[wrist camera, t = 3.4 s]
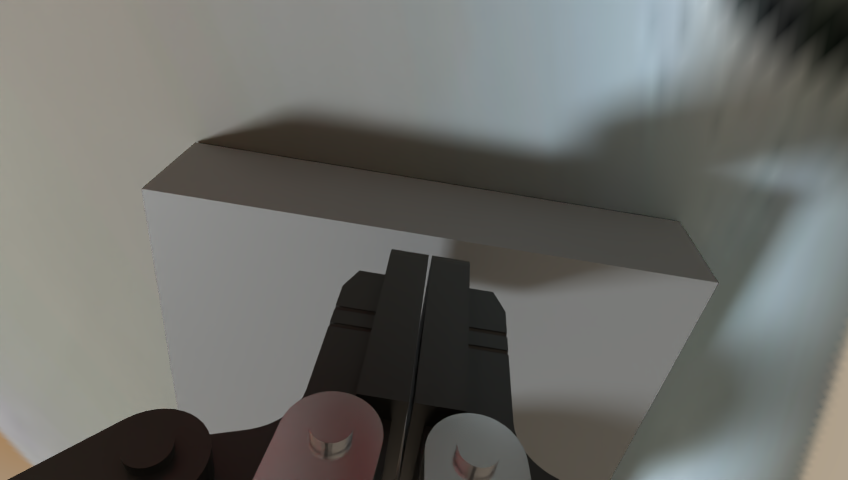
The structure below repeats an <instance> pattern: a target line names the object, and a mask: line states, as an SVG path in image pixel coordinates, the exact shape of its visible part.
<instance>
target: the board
mask: <svg viewBox="0 0 848 480" xmlns="http://www.w3.org/2000/svg"><path fill="white" fill-rule="evenodd" d="M142 195H143V201H144V207H145V213H146V220H147V226H148V232H149V238H150V244H151V250H152V256H153V262H154V268H155V274H156V280H157V286H158V292H159V298H160V304H161V310H162V316H163V323H164V329H165V335H166V341H167V347H168V353H169V359H170V365H171V371H172V377H173V383H174V389H175V395H176V401H177V407H178V410H181V411H185V412H187V413H190V414H192V415H194V416H195V417H197V418H198V419H200V420H201V421H202V422H203V423H204V425H205V426H206V428H207V429H208V431H209V434H216V433H224V432H232V431H240V430H247V429H253V428H258V427H261V426H264V425H268V424H270V423H272V422H274V421H277V420H278V419H280V418H282V417H283V416H284V414H285V413H286V412H287V411H288V410H289V408H290V407H291V406H293V405H294V404H295V403H296V402H298V401H300V400H301V399H302V397H303V396H304V393H305V391H306V389H307V386H308V383H309V380H310V377H311V375H312V372H313V369H314V366H315V363H316V360H317V357H318V354H319V352H320V349H321V346H322V343H323V340H324V337H325V334H326V332H327V329H328V326H329V325H330V320H331V317H332V314H333V312H334V309H335V307H336V303H337V300H338V297H339V294H340V292H341V289H342V286H343V285H344V284H345V283H346V282H347V281H348V280H349V279H350V278H352V277H353V276H354V275H355V274H356V273H357V272H358V271H359V270H360V271H366V272H372V273H378V274H385V273H386V269H387V265H388V261H389V257H390V253H391V249H395V250H401V251H408V252H414V253H420V254H426V255H429V258H428V266H427V273H426V281H425V288H424V295H423V302H424V297H425V291H426V285H427V280H428V274H429V269H430V263H431V258H432V255H433V256H439V257H445V258H451V259H458V260H464V261H469V262H470V287H469V288H472V289H478V290H484V291H490V292H494V294H495V296H496V297H497V299H498V300H499V302H500V304H501V305H502V307H503V309H504V310H505V312H506V325H507V336H506V337H507V339H508V355H509V367H510V381H511V395H512V409H513V423H514V429H515V433H516V436H517V438H518V439H519V441H520V442H521V444H522V446H523V448H524V450H525V452H526V453H527V455H528V456H529V457H530V458H531V459H532V460H533V461H534V462H535V463H536V464H537V465H538V466H539V467H540V468H542V469H543V470H544V471H546V472H547V473H549V474H550V475H552V476H554V477H556V478H558V479H559V480H610V479H611V477H612V475H613V473H614V472H615V470H616V468H617V466H618V464H619V463H620V461H621V459H622V457H623V455H624V454H625V452H626V450H627V448H628V446H629V444H630V443H631V441H632V439H633V437H634V435H635V434H636V432H637V430H638V428H639V426H640V424H641V423H642V421H643V419H644V417H645V415H646V414H647V412H648V410H649V408H650V406H651V405H652V403H653V401H654V399H655V397H656V395H657V394H658V392H659V390H660V388H661V386H662V385H663V383H664V381H665V379H666V377H667V375H668V374H669V372H670V370H671V368H672V366H673V365H674V363H675V361H676V359H677V357H678V356H679V354H680V352H681V350H682V348H683V346H684V345H685V343H686V341H687V339H688V337H689V336H690V334H691V332H692V330H693V328H694V327H695V325H696V323H697V321H698V319H699V317H700V316H701V314H702V312H703V310H704V308H705V307H706V305H707V303H708V301H709V299H710V297H711V296H712V294H713V292H714V290H715V288H716V287H717V285H718V281H717V280H716V278H715V277H714V275H713V273H712V272H711V270H710V269H709V267H708V265H707V264H706V262H705V261H704V259H703V258H702V256H701V254H700V253H699V251H698V250H697V248H696V247H695V245H694V243H693V242H692V240H691V239H690V237H689V235H688V234H687V232H686V231H685V229H684V228H683V226H682V224H681V223H680V222H679V221H673V220H666V219H660V218H654V217H648V216H642V215H636V214H630V213H624V212H618V211H611V210H605V209H599V208H593V207H587V206H581V205H575V204H569V203H563V202H556V201H550V200H544V199H538V198H532V197H526V196H520V195H514V194H508V193H501V192H495V191H489V190H483V189H477V188H471V187H465V186H459V185H453V184H446V183H440V182H434V181H428V180H422V179H416V178H410V177H404V176H398V175H391V174H385V173H379V172H373V171H367V170H361V169H355V168H349V167H342V166H336V165H330V164H324V163H318V162H312V161H306V160H300V159H294V158H287V157H281V156H275V155H269V154H263V153H257V152H251V151H245V150H239V149H232V148H226V147H220V146H214V145H208V144H202V143H196V142H195V143H194V144H193V145H192V146H191V147H189V148H188V149H187V150H186V151H185V152H184V153H182V154H181V155H180V156H179V157H178V158H177V159H175V160H174V161H173V162H172V163H171V164H170V165H169V166H167V167H166V168H165V169H164V170H163V171H162V172H160V173H159V174H158V175H157V176H156V177H155V178H153V179H152V180H151V181H150V182H149V183H148V184H146V185H145V186H144V187H143V188H142ZM422 308H423V303H422ZM421 313H422V310H421ZM420 319H421V318H420ZM406 418H407V416H406ZM405 425H406V422H405ZM404 432H405V427H404ZM403 440H404V433H403V438H402V444H401V449H400V454H399V460H398V465H397V471H396V476H395V480H398V477H399V469H400V462H401V454H402V447H403Z"/></svg>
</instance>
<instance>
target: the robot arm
mask: <svg viewBox="0 0 848 480" xmlns="http://www.w3.org/2000/svg"><path fill="white" fill-rule="evenodd" d="M428 258H429V255H426V254H420V253H414V252H408V251H401V250H395V249H391V253H390V257H389V261H388V265H387V269H386V273H385V274H378V273H372V272H366V271H360V270H359V271H358V272H357V273H356V274H355V275H354V276H353V277H352V278H350V279H349V280H348V281H347V282H346V283H345V284H344V285H343V286H342V289H341V292H340V294H339V297H338V300H337V303H336V307H335V309H334V312H333V314H332V317H331V320H330V325H329V326H328V329H327V332H326V334H325V337H324V340H323V343H322V346H321V349H320V352H319V354H318V357H317V360H316V363H315V366H314V369H313V372H312V375H311V377H310V380H309V383H308V386H307V389H306V391H305V393H304V396H303V397H302V399H301V400H300V401H298V402H296V403H295V404H294V405H293V406H291V407H290V408H289V410H288V411H287V412H286V413H285V414H284V416H283V417H282V418H280V419H278V420H277V421H274V422H272V423H270V424H268V425H264V426H261V427H258V428H253V429H247V430H240V431H232V432H224V433H216V434H209V431H208V429H207V428H206V426H205V425H204V423H203V422H202V421H201V420H200V419H198V418H197V417H195V416H194V415H192V414H190V413H187V412H185V411H181V410H176V409H155V410H150V411H145V412H142V413H138V414H135V415H133V416H131V417H128V418H126V419H124V420H122V421H120V422H118V423H116V424H114V425H112V426H110V427H109V428H107V429H105V430H103V431H101V432H99V433H97V434H95V435H93V436H91V437H89V438H87V439H85V440H83V441H82V442H80V443H78V444H76V445H74V446H72V447H70V448H68V449H66V450H64V451H62V452H60V453H58V454H56V455H54V456H53V457H51V458H49V459H47V460H45V461H43V462H41V463H39V464H37V465H35V466H33V467H31V468H29V469H27V470H26V471H24V472H22V473H20V474H18V475H16V476H14V477H12V478H10V479H8V480H395V476H396V471H397V465H398V460H399V454H400V449H401V444H402V438H403V433H404V440H403V447H402V454H401V462H400V469H399V477H398V480H559V479H558V478H556V477H554V476H552V475H550V474H549V473H547V472H546V471H544V470H543V469H542V468H540V467H539V466H538V465H537V464H536V463H535V462H534V461H533V460H532V459H531V458H530V457H529V456H528V455H527V453H526V452H525V450H524V448H523V446H522V444H521V442H520V441H519V439H518V438H517V436H516V433H515V429H514V423H513V409H512V395H511V381H510V367H509V355H508V339H507V337H506V336H507V325H506V312H505V310H504V309H503V307H502V305H501V304H500V302H499V300H498V299H497V297H496V296H495V294H494V292H490V291H484V290H478V289H472V288H469V287H470V262H469V261H464V260H458V259H451V258H445V257H439V256H433V255H432V258H431V263H430V269H429V274H428V280H427V285H426V291H425V297H424V302H423V295H424V288H425V281H426V273H427V266H428ZM422 303H423V308H422ZM421 310H422V313H421ZM420 318H421V319H420ZM406 416H407V418H406ZM405 422H406V425H405ZM404 427H405V432H404Z"/></svg>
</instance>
